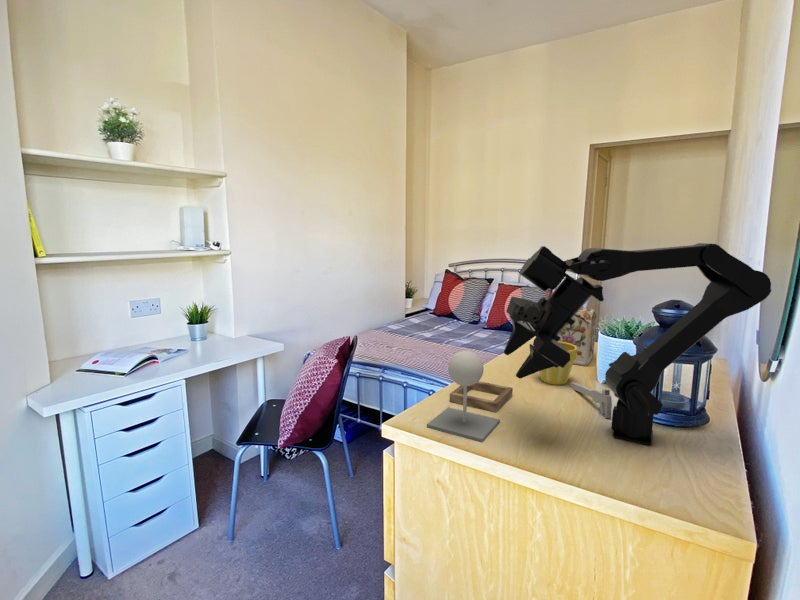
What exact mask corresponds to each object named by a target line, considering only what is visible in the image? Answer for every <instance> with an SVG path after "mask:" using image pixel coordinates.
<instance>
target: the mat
mask: <svg viewBox="0 0 800 600" xmlns="http://www.w3.org/2000/svg"><path fill="white" fill-rule="evenodd" d="M500 423H501V419H499V418H497V417H496V418H495V417H490V416H487V415H483V414H478V413H474V412H470V411H466V422H463V409H462V410H461V409H457V408H453V407H447V408H446V409H444V410H443V411H441V412H440V413H439V414H437V415H436V416H435V417H434V418H433V419H432V420H430V421H429V422H428V423H427V424H426V428H428V429H432V430H437V431H440V432H444V433H447V434H451V435H453V436H454V435H455V436H459V437H463V438H466V439H469V440H474V441H477V442H480V443H483V442H484V441H485V440H486V439H487V437H488V436H489V435H491V433H492V432H493V431H494V430H495V429H496V428H497V426H498V425H499V424H500Z"/></svg>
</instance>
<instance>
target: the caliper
mask: <svg viewBox="0 0 800 600" xmlns="http://www.w3.org/2000/svg"><path fill="white" fill-rule="evenodd" d="M568 386H569V387H570V388H571V389H572V390H574V391H577V392H578V393H581V394H583V395H585V396H587V397H589V398H591V399H592V402H593V403H597V404H598V405H599V409H600V411H599V412H600V414H601V416H603V417H604V418H605V419H612V411H613V409H612V408H613V405H612V403H613V402H612V401H613V400H612V395H611V391H610V390H611V389H608V388H602V389H601V391H600V390H599V389H591V388H589V387H587V386H584V385H582V384H579V383H577V382H570V383H568Z"/></svg>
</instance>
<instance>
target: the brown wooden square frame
mask: <svg viewBox="0 0 800 600" xmlns="http://www.w3.org/2000/svg"><path fill="white" fill-rule="evenodd" d="M472 390H475V391H478V392H482V393H489V394H494V395H497V397H496V398H494V400H492V399H486V398H481V397H477V396H472V395H468V394H467V407H471V408H475V409H476V408H477V409H480V410H484V411H489V412H492V413H497V412H499V410H500V409H501V408H502V407H504V405H505V404H506V403H507V402H508V401H509V400H510V398H512V397H513V390H514V389H513V387H510V386H507V385H506V386H505V385H500V384H494V383H489V382H485V381H480V380H479V382H477V383H476V384H474V385H472V386H467V393H468V392H470V391H472ZM463 395H464V386H461V385H458V387H457V388H455V389H454V390H453V391H451V392H450V393H449V402H450V403H453V404H456V405H457V404H458V405H462V406H463Z"/></svg>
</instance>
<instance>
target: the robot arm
mask: <svg viewBox="0 0 800 600" xmlns="http://www.w3.org/2000/svg"><path fill="white" fill-rule="evenodd" d="M691 267H696V268H698V270H699V271H700V273H701V274H702V275H703V276H704V278H706V279H707V280H708V281H710V282H709V283H708V284H707V286H706V287H705V290H704V293H703V295H702V298H701V300H700V301H699V302H697V304H696V305H695V306H693V307H692V308H691V309H690V310H688V311H687V312H686V313H685V314H684V315H683V316H682V317H681V318H680V319H678V320H677V321H676V322H675V323H674V324H672V325H671V326H670V327H669V328H667V329H666V331H664V332H663V333H662V334H661V335H660V336H659V337H657V338H656V339H655V340H654V341H653V342H651V344H649V345H648V346H646V348H645V349H644V350H642V351H641V352H638V353H637V354H634V355H631V354H629V353H628V352H627V351H623V352H622V353H620V355H619V356H618V357H617V358H616V360H614V361H613V362H610V363H608V364H607V365H608V366H609V367H608V369H607V370H606V371H605V373H604V374H605V383H606V385H607V387H608V388H609V390H611V391H612V392H613V394H614V397H616V398H618V399H617V402H616V405H615V406H613V407H612V408H613V409H612V412H611V427H610V428H611V431H613V432H612V437H613V438H617V439H620V440H625V441H630V442H634V443H639V444H643V445H646V446H647V445H648V446H652V445H653V433H654V432H653V431H654V430H653V426H654V425H653V424H654V416H655V415H659V414H660V411H661V409H662V408H663V403H662V402H661V401H660V400H659V399H658V398H657V397H656V396H655V395H654V394H653V393H652V392H653V391H654V390H655V389H656V387H657V386H658V383H659V381H660V378H661V376H662V373H663V372H664V370H665V369H667V368H668V367H669V366H670V365H671V364H673V363H674V362H675V361H676V360H677V359H679V357H681V356H682V355H684V353H686V352H687V351H688V350H689V349H690V348H692V347H693V346H694V345H696V343H698V342H699V341H700V340H702V338H704V337H705V336H706V335H707V334H708V333H709V332H711V331H712V330H713V329H714V328H715V327H716V326H718V325H719V324H720V323H721V322H723V321H724V320H725V319H726V318H729V317H732V316H734V315H737V314H740V313H742V312H745V311H748V310H750V309H751V308H753V307H754V306H756V305H758V304H759V303H761V302H763V301H764V300H766V299H767V298H768V297H769V296H770V294H771V292H772V289H771V288H772V282H771V279H770V278H769V276H768V275H767V274H766V273H764V272H763V271H759V270H755V269H754V268H752V267H751V266H750V265H749V264H747V263H746V262H744V261H742V260H740V259H739V258H736V257H735V256H733V255H731V254H730V253H728V252H727V251H726V250H725V249H724V248H722V247H721V246H720V245H719V244H717V243H708V242H707V243H705V242H703V243H702V242H698V243H695V244H691V245H682V246H681V245H680V246H668V247H656V248H647V249H646V248H645V249H637V250H636V249H635V250H623V249H611V248H601V247H599V248H597V247H590V248H586V249H584V250H583V251H581V253H580V254H579V255H578V256H577V257H573V258H570V259H566V260H563V259H562V258H560V257H559V256H557V255H556V254H554V253H553V252H552V251H551V249H549V248H548V247H546V246H543V245H542V246H540V248H539V249H538V250H537V251H535V252H534V253H533V254H532V256H531V257H529V258H528V259H527V260H526V261H525V263H524V264H523V265H522V267H521V269H520V271H519V273H518V274H519V275H520V276H522V277H523V278H524V279H526V280H527V281H529V282H530V283H531V284H533V285H534V286H536V287H537V288H539V289H540V290H541V291H543V292H546V291H547V290H551V291H553V292H552V294H550V296H548V298H546V297H544V296H543V297H541V298H540V299H539V300H538V301H537V302H536V301H532V300H529V299H526V298H522V297H517V296H511V297H510V300H509V303H508V304H507V305H508V306H507V308H506V311H505V312H506V314H508V315H509V318H510V319H511V323H512V330H511V333H510V336H509V338H508V341H507V343H506V346H505V347H504V350H503V354H504V355H506V356H509V355H511V354H513V353H514V352H515V351H517V350H519V348H521V347H522V346H524V345H525V344H526V343H528V342H530V341H531V340H532V339H533V343H532V344H531V343H530V344H529V354H528V356H527V357H526V359H525V360H524V362H523V363H522V364H521V366H520V367H519V369H518V370H517V372H516V373H515V377H516V378H518V379H523V378H525V377H527V376H531V375H533V374H536V373H540V371H541V370H544V369H548V368H551V367H556V368H557V367H559V366H560V367H562V368H564V367H565V366H566V365H567V364H568V362H569V361H570V353H569V352H568V351H567V350H566V349H565V347H564V346H563V345H562V344H560V343H559V342H558V341H559V340H560V336H559V335H558V334H559V333H560V331H561V330H562V329H563V328H564V327H565V326H566V325H567V323H569V324H570V325H573V324H574V323H575V321H574V320H573V319H572V318H573V317H574V315H575V314H576V313H577V312H578V311H579V310H580V309H581V307H582V306H583V307H584V305H585V304H586V303H587V302H588V301H589V299H591V297H593V298H595V299H596V300H597V301H599V302H604V301H605V299H604V295H603V294H604V293H603V289H604V287H603V286H602V285H601V284H592V283H591V282H589V281H588V280H587V279H585V278H583V277H586V278H589V279H591V280H595V281H600V282H603V281H604V282H605V281H608V280H612V279H616V278H620V277H624V276H627V275H629V274H632V273H636V272H641V271H654V270H657V271H658V270H667V269H678V268H679V269H680V268H681V269H682V268H691ZM567 272H570V273H572V274H577V275H580V276H583V277H578V278H576V279H575V278H573V277H572V276H570V274H568V273H567Z"/></svg>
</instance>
